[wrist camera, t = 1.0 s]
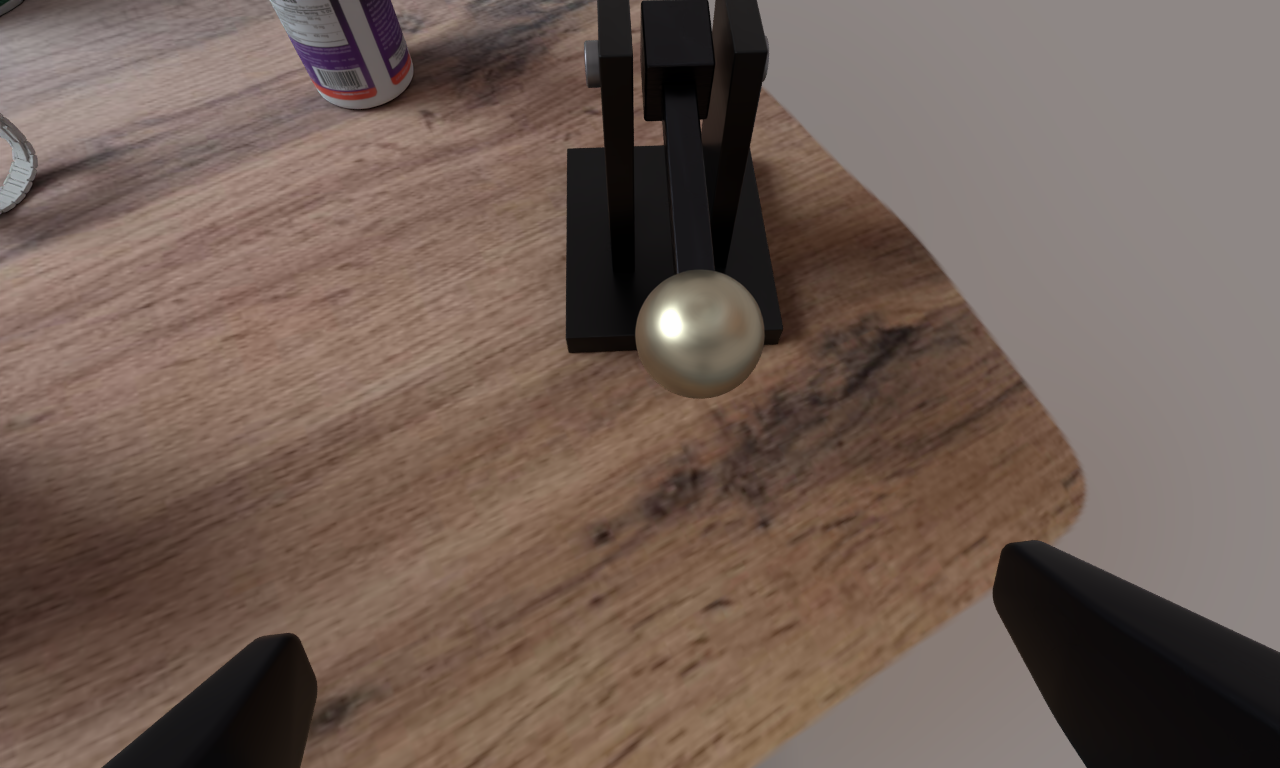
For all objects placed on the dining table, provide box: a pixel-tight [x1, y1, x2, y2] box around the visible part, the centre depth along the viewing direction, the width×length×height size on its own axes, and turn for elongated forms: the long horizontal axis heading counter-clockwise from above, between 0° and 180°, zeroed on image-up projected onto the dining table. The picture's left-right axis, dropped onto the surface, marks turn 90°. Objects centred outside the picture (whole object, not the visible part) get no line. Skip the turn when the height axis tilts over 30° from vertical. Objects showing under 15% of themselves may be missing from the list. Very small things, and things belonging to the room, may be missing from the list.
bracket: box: [566, 0, 783, 353], centre depth 24 cm, size 11×9×11 cm
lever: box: [635, 0, 765, 399], centre depth 19 cm, size 13×4×4 cm, turn 3°
